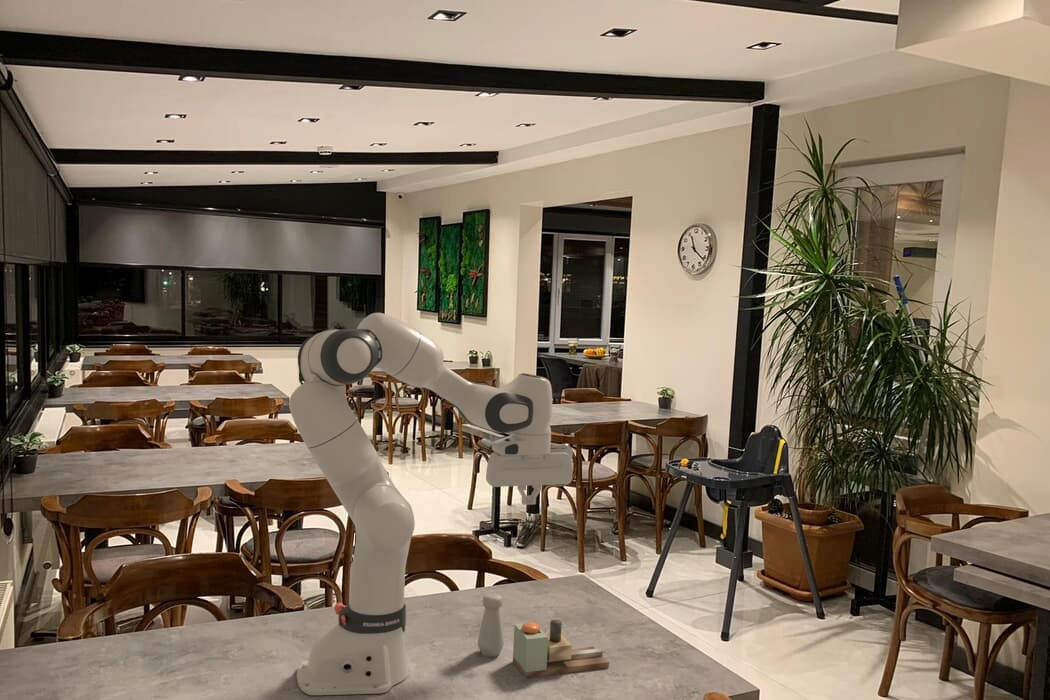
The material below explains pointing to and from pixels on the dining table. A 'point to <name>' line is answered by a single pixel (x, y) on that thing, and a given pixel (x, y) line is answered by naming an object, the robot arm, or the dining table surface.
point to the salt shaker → (491, 627)
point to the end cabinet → (530, 649)
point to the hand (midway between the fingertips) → (528, 504)
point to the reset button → (530, 628)
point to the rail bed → (571, 663)
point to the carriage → (557, 643)
